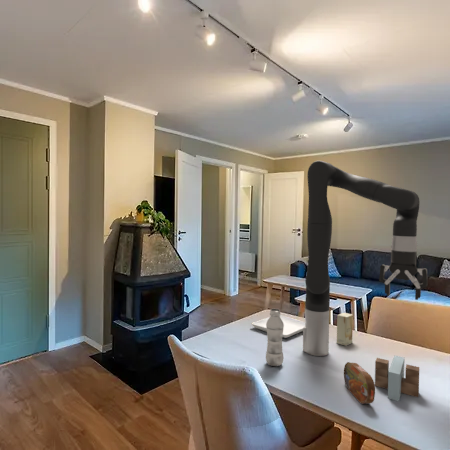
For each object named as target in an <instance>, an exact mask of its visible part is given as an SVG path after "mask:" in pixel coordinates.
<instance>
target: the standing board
mask: <svg viewBox="0 0 450 450" xmlns="http://www.w3.org/2000/svg"><path fill="white" fill-rule="evenodd" d="M375 359H376V360H375V363H374V364H375V368H374V384H375V387H377V388H378V387H379V388H382V389H385V390H388V371H389V369H390V360H389V359H385V358H380V357H376V358H375ZM401 394H404V395H408V396H412V397H416V398H419V396H420V395H419V394H420V367H419V366H416V365H412V364H411V365H410V364H406V365H405V371H404V378H402V379H401Z"/></svg>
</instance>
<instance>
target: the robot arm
mask: <svg viewBox="0 0 450 450" xmlns="http://www.w3.org/2000/svg"><path fill="white" fill-rule="evenodd" d="M328 187H333V188H338V189H343V190H345V191H349V192H350V193H353V194H355V195H357V196H359V197H362V198H364V199H368V200H370V201H373V202H376V203H378V204H379V203H380V204H384V205H385V206H387V207H390V208H392V209H395V210H396V214H395V219H394V220H393V223H392V225H393V226H392V238H391V245H390V249H391V252H390V264H389V265H386V264H381V265H380V266H379V277H378V281H379V282H380V283H382V284H384V294H385V295H386V296H388V297H389V296H390V295H391V282H392V281H393V280H394V279H397V280H404V281H409V280H410V281H411V283H412V284H413V285H414V286H415V290H414V291H415V292H414V293H415V295H414V297H415V299H414V300H417V301H418V300H419V299H420V298H421V296H422V295H421V294H422V293H421V292H422V289H424V288H427V287H428V284H429V283H428V269H427V268H418V267H417V252H418V251H417V250H418V241H417V239H418V238H417V232H418V231H417V230H418V228H417V227H418V225H417V222H418V217H419V212H420V197H419V195H418V193H416V192H414V191H412V190H409V189H405V188H402V187H398V186H393V185H390V184H388V183H386V182H383V181H379V180H376V179H373V178H369V177H365V176H360V175H356V174H353V173H349V172H347V171H345V170H342V169H340V168H338V167H337V166H334V165H333V164H332V163H330V162H326V161H324V160H315V161H313V162H312V163H310V166H309V167H308V170H307V188H308V189H307V190H308V204H307V205H308V211H307V226H306V227H307V228H306V229H307V231H306V233H307V238H306V240H307V253H308V260H307V261H308V263H307V270H306V274H305V275H306V276H305V280H304V281H305V283H304V284H305V305H304V306H305V308H304V309H305V310H304V312H305V313H304V314H305V315H304V322H305V327H304V328H303V331H302V352H305V353H306V354H308V355H310V356H315V357H325V356H327V355H329V354H330V353H329V351H330V350H329V349H330V347H329V346H330V345H329V344H330V301H331V300H330V297H331V295H330V294H331V292H330V291H331V289H330V288H331V283H330V282H331V279H330V273H329V272H330V271H329V256H330V248H331V243H332V234H333V233H332V232H333V218H332V212H331V209H330V205H329V203H328ZM388 269H389V271H390V273H391V275H389V277H388V278H387V279H386V278H385V274H386V272H388ZM417 273H419V275H420V276H422V283H420V281H419V280H418V279H417V278H416V276H415V275H416V274H417Z"/></svg>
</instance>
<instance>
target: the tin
mask: <svg viewBox="0 0 450 450" xmlns="http://www.w3.org/2000/svg"><path fill="white" fill-rule="evenodd" d="M343 380H344V383H345V387H346V388H347V390H348V391H349V392H350V393H351V394H352V396H353V397H355V399H356V400H357V401H358V402H359V403H360V404H363V405H364V404H372V403H374V401H375V397H376V386H375V380H374V379H373V377H372V376H371V374H370V373H369V372H368V371H366V370H365V369H364V368H363V367H362V366H361V365H360V364H358V363H356V362H350V361H349V362H348V361H347V362H346V363H345V365H344V367H343Z"/></svg>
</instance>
